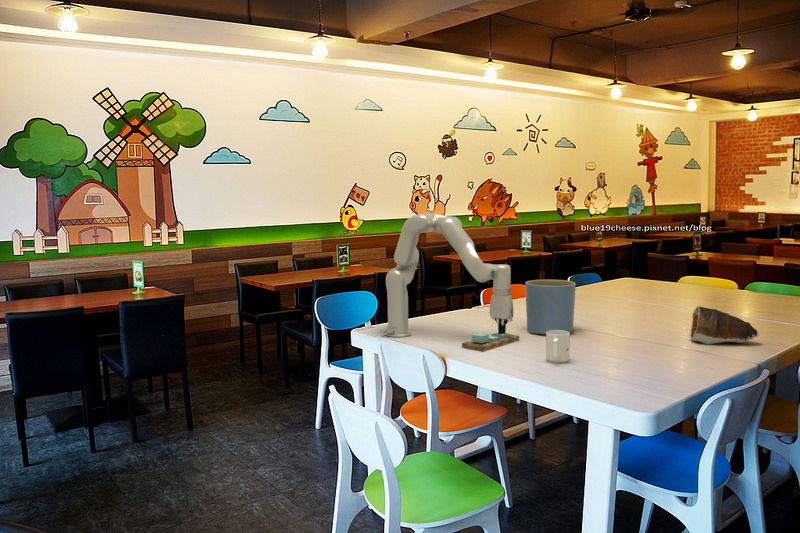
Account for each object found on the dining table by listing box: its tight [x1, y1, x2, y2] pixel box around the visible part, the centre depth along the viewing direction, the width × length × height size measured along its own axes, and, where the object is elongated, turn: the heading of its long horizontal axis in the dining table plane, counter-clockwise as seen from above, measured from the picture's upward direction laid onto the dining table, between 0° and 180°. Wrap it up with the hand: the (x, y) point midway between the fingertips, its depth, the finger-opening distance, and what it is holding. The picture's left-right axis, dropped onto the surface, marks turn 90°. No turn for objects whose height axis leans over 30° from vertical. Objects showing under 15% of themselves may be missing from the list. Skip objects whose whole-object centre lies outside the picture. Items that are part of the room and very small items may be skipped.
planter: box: [524, 279, 577, 335], centre depth 282 cm, size 23×23×24 cm
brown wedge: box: [689, 306, 759, 345], centre depth 256 cm, size 15×15×25 cm
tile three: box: [493, 332, 510, 338], centre depth 268 cm, size 5×5×3 cm
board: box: [461, 332, 520, 353], centre depth 262 cm, size 27×11×2 cm, turn 136°
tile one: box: [471, 332, 489, 343], centre depth 256 cm, size 5×5×3 cm
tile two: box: [488, 334, 499, 342], centre depth 262 cm, size 5×5×3 cm
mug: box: [545, 330, 571, 364], centre depth 232 cm, size 12×9×11 cm
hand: (501, 333), depth 268 cm, fingers closed
